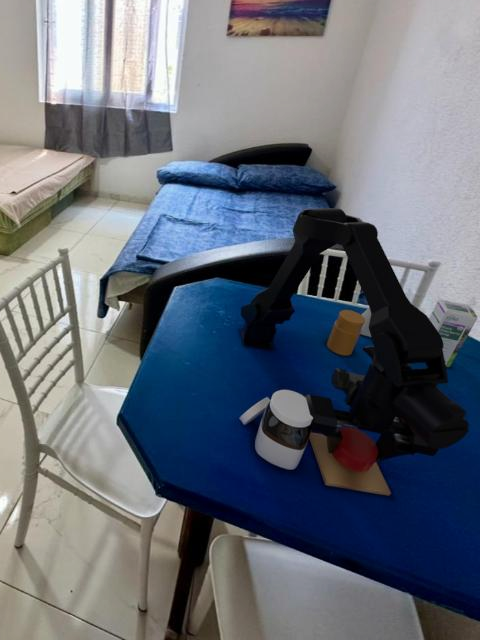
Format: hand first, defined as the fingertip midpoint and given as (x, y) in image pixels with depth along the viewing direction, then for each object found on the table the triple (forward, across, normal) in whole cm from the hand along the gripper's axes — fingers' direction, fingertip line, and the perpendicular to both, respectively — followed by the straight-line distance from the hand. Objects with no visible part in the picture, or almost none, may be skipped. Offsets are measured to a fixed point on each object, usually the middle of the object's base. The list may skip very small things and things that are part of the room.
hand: (350, 455), depth 71 cm
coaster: (+2, 0, 0) cm, 2 cm away
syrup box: (+2, -28, -37) cm, 46 cm away
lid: (0, 0, 0) cm, 0 cm away
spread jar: (+2, +13, -1) cm, 13 cm away
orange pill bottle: (+2, -7, -34) cm, 35 cm away
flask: (+2, -16, -44) cm, 47 cm away
